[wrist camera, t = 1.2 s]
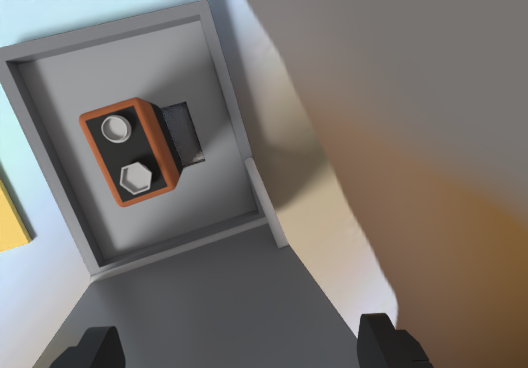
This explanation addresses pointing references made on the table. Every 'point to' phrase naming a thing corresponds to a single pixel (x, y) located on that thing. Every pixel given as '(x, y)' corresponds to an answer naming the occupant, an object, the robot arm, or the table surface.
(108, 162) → the battery
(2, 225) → the yellow sticky note
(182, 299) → the equipment case
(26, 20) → the table surface
